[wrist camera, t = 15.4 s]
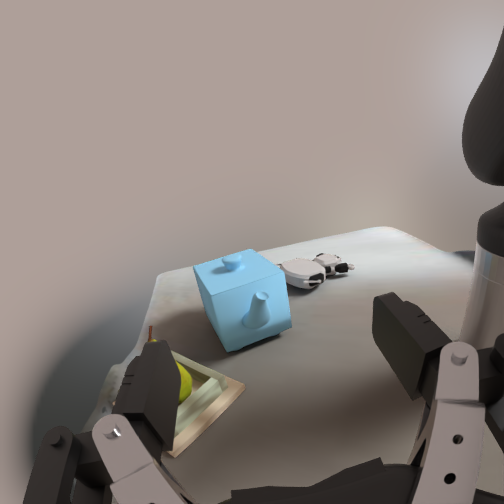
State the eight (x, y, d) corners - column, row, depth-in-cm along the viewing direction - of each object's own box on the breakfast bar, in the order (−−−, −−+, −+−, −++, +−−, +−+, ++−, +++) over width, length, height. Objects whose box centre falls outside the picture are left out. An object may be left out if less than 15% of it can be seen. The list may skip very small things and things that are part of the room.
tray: (178, 358, 45) (172, 342, 44) (245, 388, 36) (240, 371, 35) (115, 407, 35) (104, 391, 33) (175, 458, 26) (163, 443, 25)
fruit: (147, 401, 34) (110, 334, 30) (175, 376, 39) (147, 309, 35) (178, 420, 31) (140, 350, 27) (207, 391, 36) (180, 320, 31)
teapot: (205, 315, 57) (187, 251, 52) (256, 297, 60) (243, 234, 55) (243, 385, 37) (220, 302, 32) (312, 355, 40) (305, 272, 36)
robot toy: (324, 263, 72) (272, 280, 66) (323, 246, 70) (270, 261, 64) (358, 279, 61) (302, 300, 55) (358, 260, 59) (302, 279, 54)
